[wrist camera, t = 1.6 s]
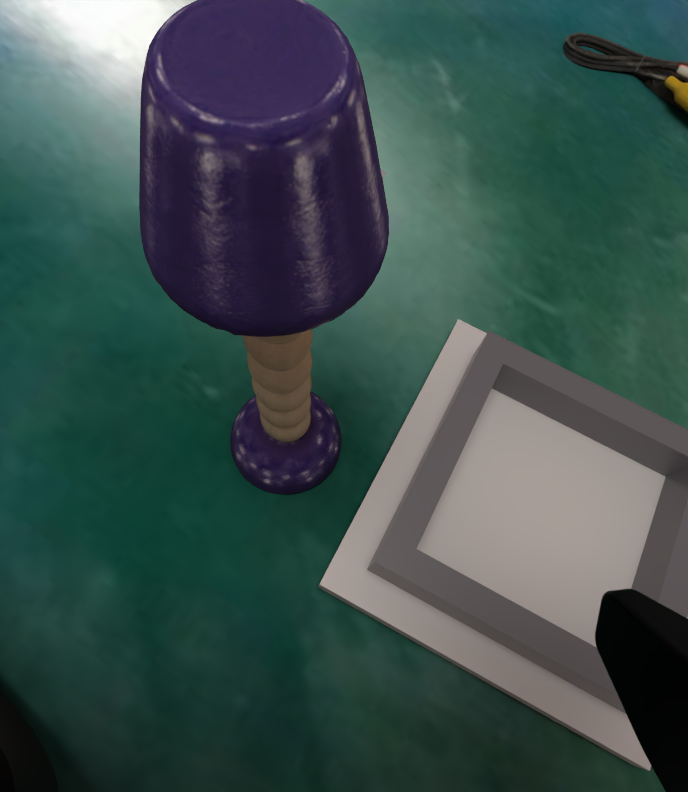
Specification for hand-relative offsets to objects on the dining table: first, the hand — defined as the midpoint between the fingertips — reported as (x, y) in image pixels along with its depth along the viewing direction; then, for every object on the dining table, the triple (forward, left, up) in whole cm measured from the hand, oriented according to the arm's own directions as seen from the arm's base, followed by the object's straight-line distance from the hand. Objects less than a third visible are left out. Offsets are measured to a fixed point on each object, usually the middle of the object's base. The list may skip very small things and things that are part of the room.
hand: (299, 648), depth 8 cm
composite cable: (-3, -35, -14) cm, 38 cm away
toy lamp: (+4, -6, -13) cm, 16 cm away
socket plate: (-6, -8, -13) cm, 17 cm away
